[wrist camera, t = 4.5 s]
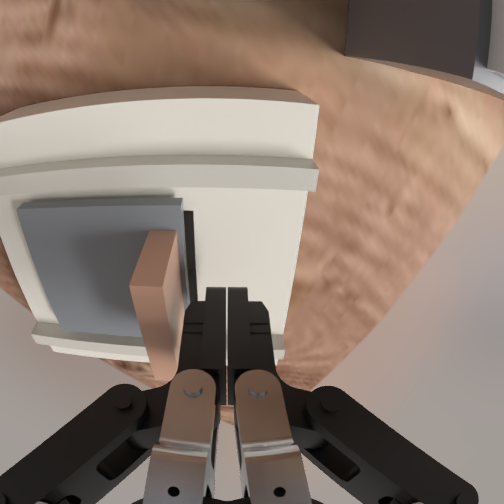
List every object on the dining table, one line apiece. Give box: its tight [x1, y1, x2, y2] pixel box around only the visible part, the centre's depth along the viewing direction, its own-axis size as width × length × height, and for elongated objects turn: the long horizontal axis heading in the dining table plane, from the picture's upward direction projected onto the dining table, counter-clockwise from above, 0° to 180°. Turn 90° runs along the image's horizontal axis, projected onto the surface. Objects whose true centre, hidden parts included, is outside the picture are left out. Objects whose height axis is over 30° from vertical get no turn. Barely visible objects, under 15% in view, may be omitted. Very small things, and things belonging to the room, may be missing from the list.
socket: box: [0, 86, 319, 366], centre depth 15 cm, size 14×14×5 cm
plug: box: [344, 0, 504, 100], centre depth 7 cm, size 4×4×10 cm
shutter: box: [16, 198, 190, 381], centre depth 12 cm, size 7×7×4 cm
